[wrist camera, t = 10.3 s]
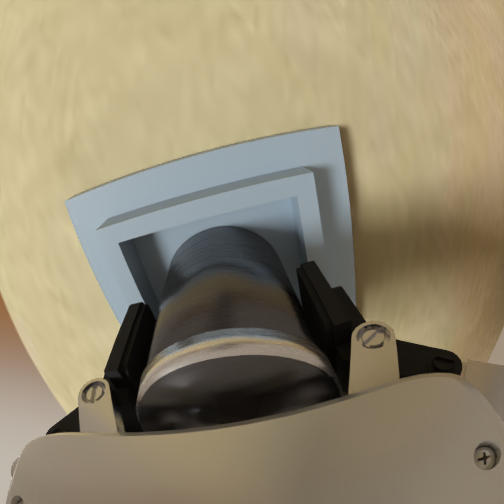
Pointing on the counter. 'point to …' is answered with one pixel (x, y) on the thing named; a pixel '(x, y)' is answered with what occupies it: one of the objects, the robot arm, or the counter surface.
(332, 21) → the counter surface
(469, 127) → the counter surface
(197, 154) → the mount plate
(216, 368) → the lens
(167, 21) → the counter surface
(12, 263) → the counter surface
